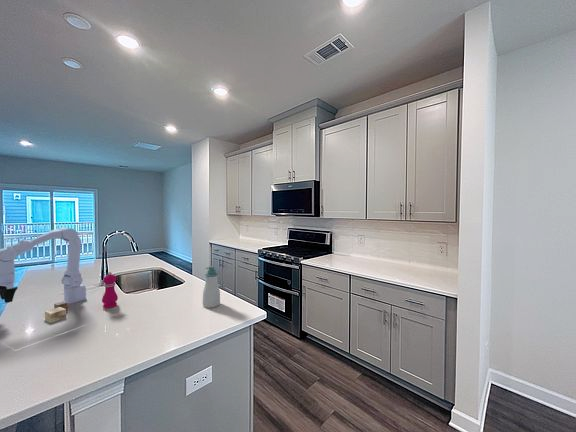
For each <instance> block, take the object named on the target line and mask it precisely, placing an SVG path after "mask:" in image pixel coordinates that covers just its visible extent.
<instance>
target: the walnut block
mask: <svg viewBox="0 0 576 432" xmlns="http://www.w3.org/2000/svg"><path fill="white" fill-rule="evenodd" d="M62 301H63V302H61V301H59V302H56V303H55V302H54V306H53V307H54V308H53V309H55V308H58V307H62V308H64V309H66V312H68V311H69V309H68V306H69V304H68V303H67V302H65V301H64V300H62Z"/></svg>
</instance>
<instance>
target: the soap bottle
mask: <svg viewBox="0 0 576 432" xmlns="http://www.w3.org/2000/svg"><path fill="white" fill-rule="evenodd" d="M205 269H206V270H207V272H206V273H205V274H204V276H205V283H204V287H203V290H202V306H203V307H204V308H207V309H212V308H216V307H219V306H220V303H221V291H220V287H219V281H218V275H219V273H218V272H217V271H216V269H215V266H214V265H210V266H208V267H205Z"/></svg>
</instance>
